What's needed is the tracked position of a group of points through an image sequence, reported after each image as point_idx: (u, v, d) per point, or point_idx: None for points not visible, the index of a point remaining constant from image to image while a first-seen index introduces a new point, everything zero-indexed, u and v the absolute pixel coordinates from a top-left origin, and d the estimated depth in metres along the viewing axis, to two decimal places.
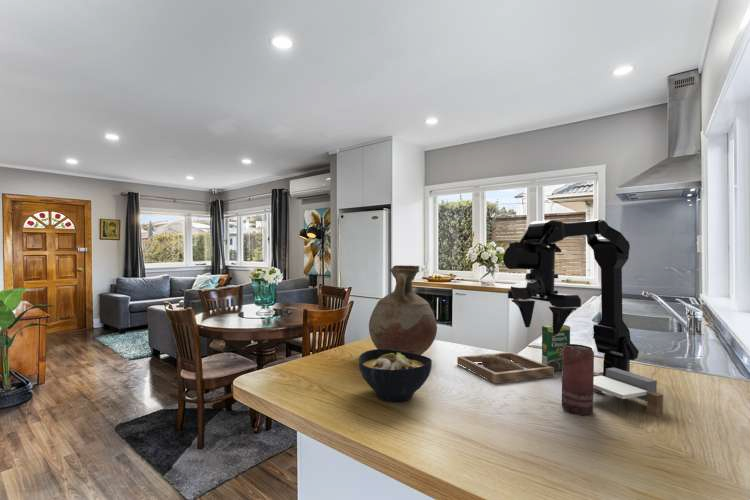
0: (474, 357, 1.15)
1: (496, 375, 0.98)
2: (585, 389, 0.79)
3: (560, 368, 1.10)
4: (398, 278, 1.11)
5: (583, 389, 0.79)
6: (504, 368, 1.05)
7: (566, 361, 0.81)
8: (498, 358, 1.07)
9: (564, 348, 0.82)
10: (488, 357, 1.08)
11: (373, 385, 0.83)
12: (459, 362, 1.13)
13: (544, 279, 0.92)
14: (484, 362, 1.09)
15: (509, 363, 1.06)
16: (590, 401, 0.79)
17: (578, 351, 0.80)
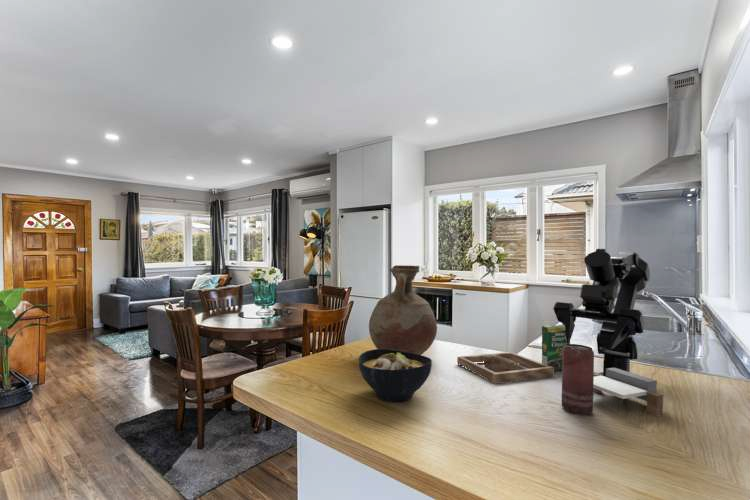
0: (474, 357, 1.15)
1: (496, 375, 0.98)
2: (585, 389, 0.79)
3: (560, 368, 1.10)
4: (398, 278, 1.11)
5: (583, 389, 0.79)
6: (505, 368, 1.05)
7: (566, 361, 0.81)
8: (499, 358, 1.07)
9: (564, 348, 0.82)
10: (489, 357, 1.08)
11: (373, 385, 0.83)
12: (459, 362, 1.13)
13: None
14: (485, 362, 1.10)
15: (510, 363, 1.06)
16: (590, 401, 0.79)
17: (578, 351, 0.80)
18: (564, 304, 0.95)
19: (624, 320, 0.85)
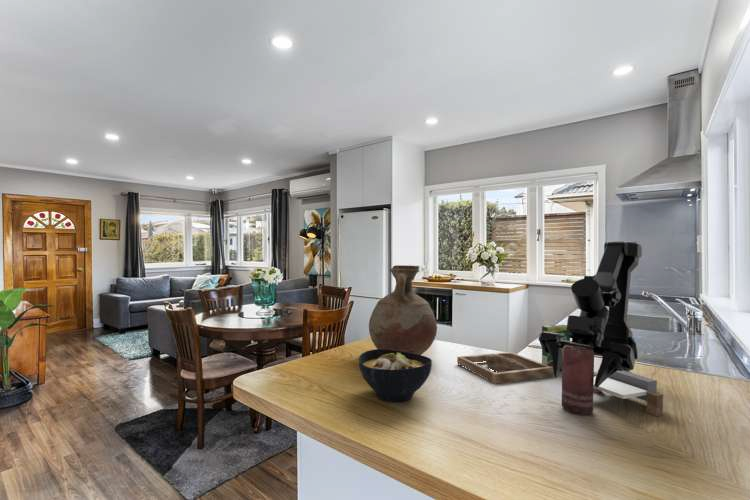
0: (474, 357, 1.15)
1: (496, 375, 0.98)
2: (585, 389, 0.79)
3: (560, 368, 1.10)
4: (398, 278, 1.11)
5: (583, 389, 0.79)
6: (507, 368, 1.06)
7: (566, 361, 0.81)
8: (502, 357, 1.08)
9: (564, 348, 0.82)
10: (492, 356, 1.09)
11: (373, 385, 0.83)
12: (459, 362, 1.13)
13: None
14: (488, 361, 1.10)
15: (513, 362, 1.06)
16: (590, 401, 0.79)
17: (578, 351, 0.79)
18: (550, 335, 0.89)
19: (610, 356, 0.79)
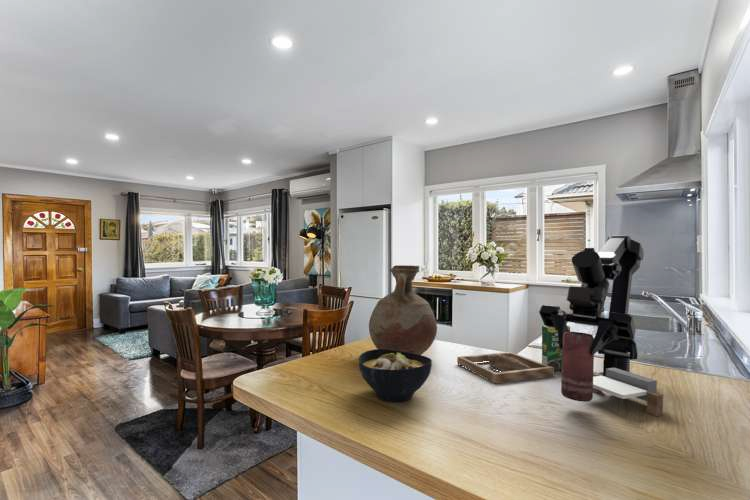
0: (474, 357, 1.15)
1: (496, 375, 0.98)
2: (585, 375, 0.79)
3: (560, 368, 1.10)
4: (398, 278, 1.11)
5: (583, 374, 0.79)
6: (509, 367, 1.06)
7: (566, 347, 0.81)
8: (504, 357, 1.08)
9: (564, 334, 0.82)
10: (494, 355, 1.09)
11: (373, 385, 0.83)
12: (459, 362, 1.13)
13: None
14: (490, 360, 1.11)
15: (515, 362, 1.07)
16: (590, 387, 0.79)
17: (578, 336, 0.80)
18: (550, 307, 0.89)
19: (605, 324, 0.79)
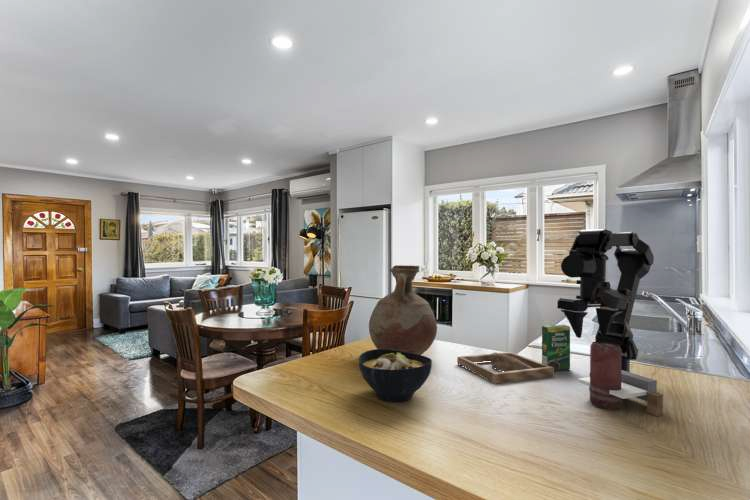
0: (474, 357, 1.15)
1: (496, 375, 0.98)
2: (614, 385, 0.82)
3: (560, 368, 1.10)
4: (398, 278, 1.11)
5: (612, 384, 0.82)
6: (508, 366, 1.07)
7: (594, 358, 0.84)
8: (504, 356, 1.09)
9: (592, 345, 0.85)
10: (494, 354, 1.10)
11: (373, 385, 0.83)
12: (459, 362, 1.13)
13: None
14: (492, 359, 1.12)
15: (514, 362, 1.07)
16: None
17: (606, 348, 0.83)
18: (583, 306, 0.92)
19: (618, 313, 0.98)
